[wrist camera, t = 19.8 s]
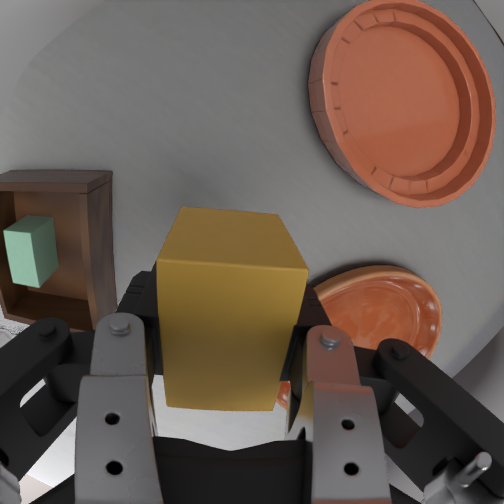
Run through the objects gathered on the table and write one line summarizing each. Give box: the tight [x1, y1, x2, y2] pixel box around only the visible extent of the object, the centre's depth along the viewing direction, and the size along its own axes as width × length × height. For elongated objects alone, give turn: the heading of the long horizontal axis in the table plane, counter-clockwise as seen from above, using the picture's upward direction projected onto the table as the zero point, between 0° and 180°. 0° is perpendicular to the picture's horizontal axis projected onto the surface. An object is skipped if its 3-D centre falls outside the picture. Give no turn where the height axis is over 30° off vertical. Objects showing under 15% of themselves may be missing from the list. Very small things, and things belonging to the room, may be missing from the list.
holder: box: [0, 170, 117, 332], centre depth 24 cm, size 15×13×6 cm
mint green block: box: [4, 215, 59, 288], centre depth 24 cm, size 6×4×4 cm, turn 172°
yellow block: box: [156, 207, 309, 411], centre depth 10 cm, size 6×4×4 cm, turn 173°
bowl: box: [308, 0, 496, 208], centre depth 22 cm, size 19×19×4 cm
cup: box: [0, 329, 17, 348], centre depth 27 cm, size 7×10×8 cm
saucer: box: [276, 265, 442, 410], centre depth 33 cm, size 23×23×4 cm
